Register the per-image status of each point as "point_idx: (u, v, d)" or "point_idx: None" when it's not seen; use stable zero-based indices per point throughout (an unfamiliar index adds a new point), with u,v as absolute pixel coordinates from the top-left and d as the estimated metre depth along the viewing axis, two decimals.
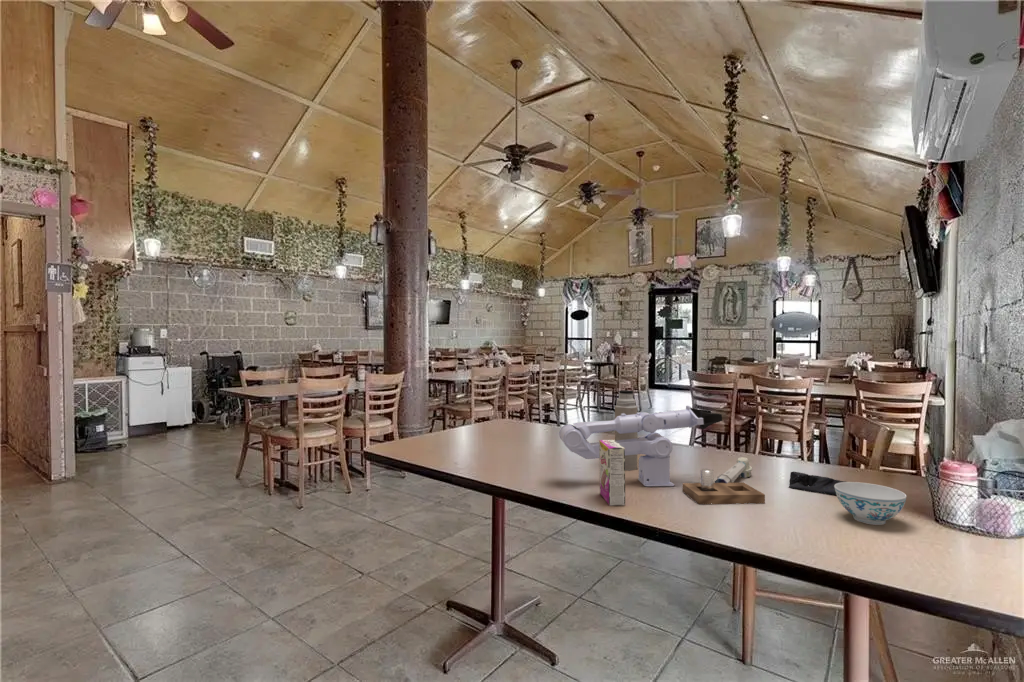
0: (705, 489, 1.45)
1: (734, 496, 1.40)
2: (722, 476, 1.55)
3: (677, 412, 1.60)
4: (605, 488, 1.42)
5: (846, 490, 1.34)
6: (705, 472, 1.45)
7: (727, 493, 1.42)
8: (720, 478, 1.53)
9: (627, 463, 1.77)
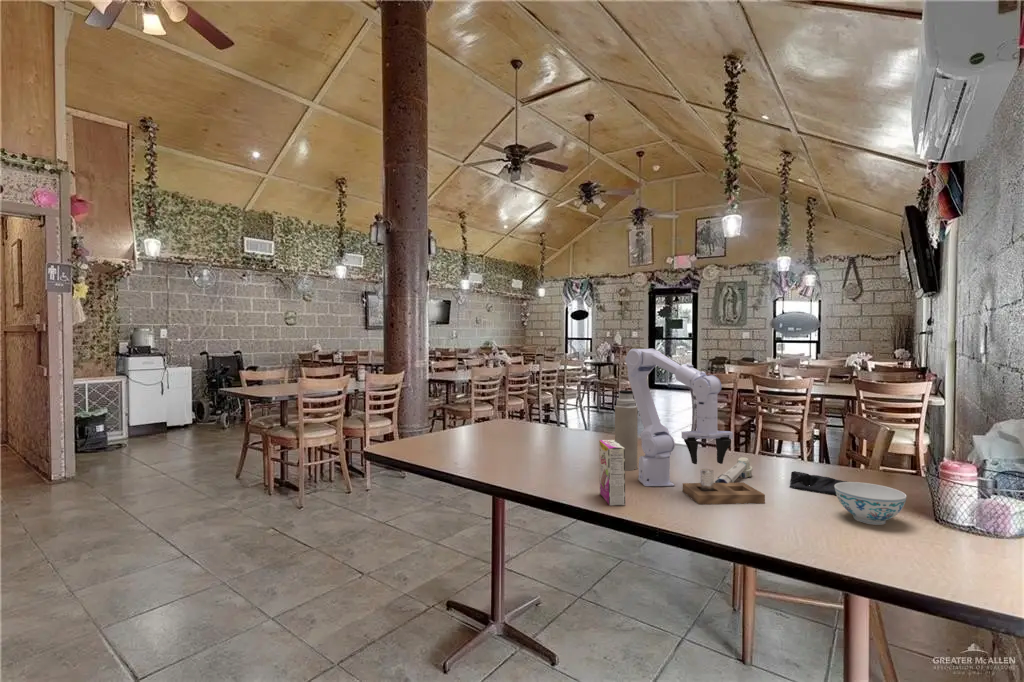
0: (705, 489, 1.45)
1: (734, 496, 1.40)
2: (722, 476, 1.55)
3: (705, 420, 1.44)
4: (605, 488, 1.42)
5: (846, 490, 1.34)
6: (705, 472, 1.45)
7: (727, 493, 1.42)
8: (720, 478, 1.53)
9: (627, 463, 1.77)
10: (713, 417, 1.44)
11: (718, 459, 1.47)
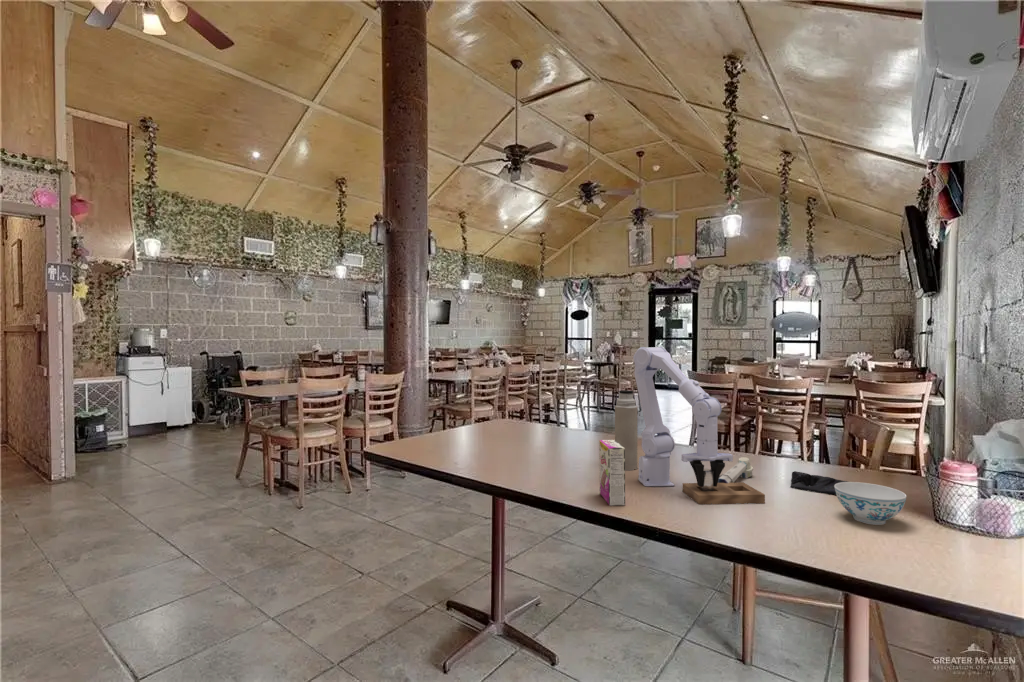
0: (705, 489, 1.45)
1: (734, 496, 1.40)
2: (723, 476, 1.55)
3: (705, 443, 1.44)
4: (605, 488, 1.42)
5: (846, 490, 1.34)
6: (705, 472, 1.45)
7: (727, 493, 1.42)
8: (721, 478, 1.53)
9: (627, 463, 1.77)
10: (713, 440, 1.44)
11: None
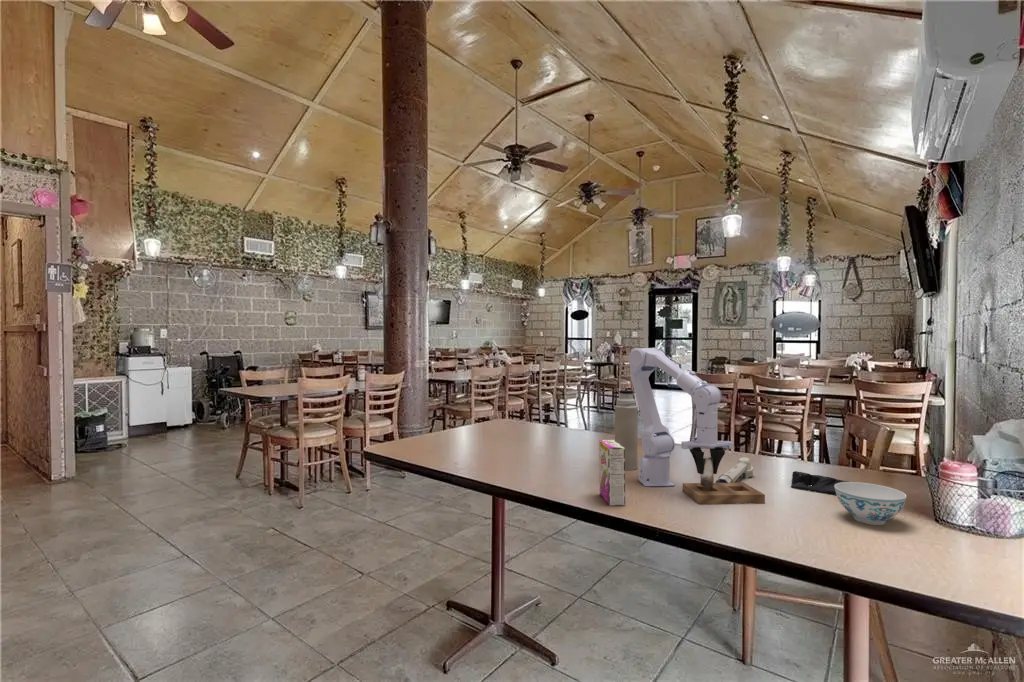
0: (705, 477, 1.45)
1: (734, 496, 1.40)
2: (723, 476, 1.55)
3: (705, 430, 1.44)
4: (605, 488, 1.42)
5: (846, 490, 1.34)
6: (705, 460, 1.45)
7: (727, 493, 1.42)
8: (721, 478, 1.53)
9: (627, 463, 1.77)
10: (713, 427, 1.44)
11: None
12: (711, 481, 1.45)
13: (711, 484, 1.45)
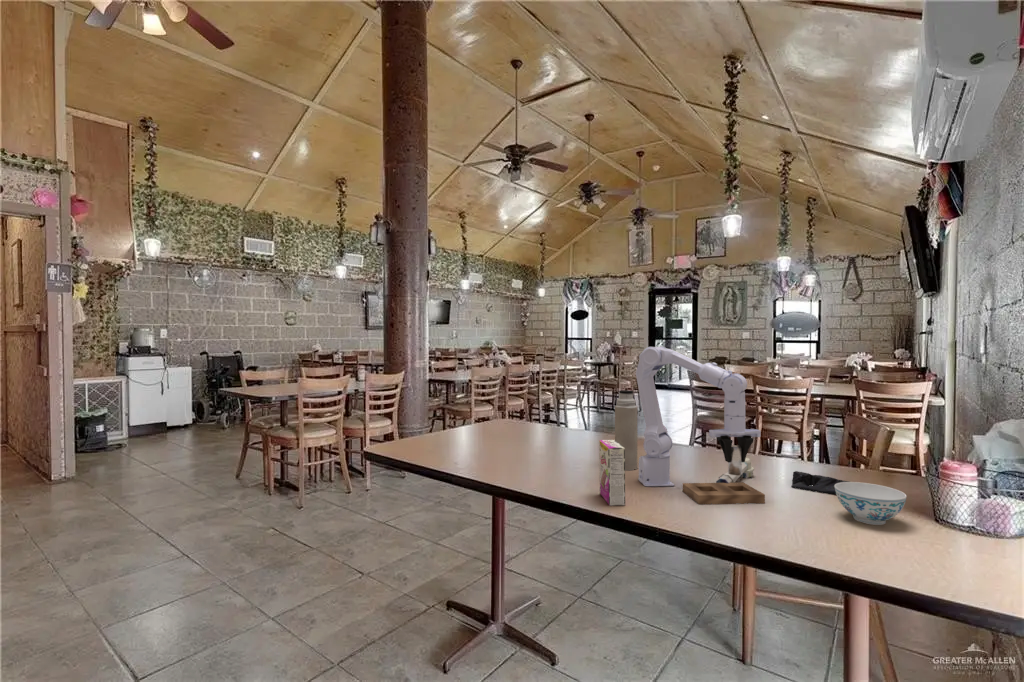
0: (733, 465, 1.45)
1: (734, 496, 1.40)
2: (724, 476, 1.55)
3: (734, 418, 1.44)
4: (605, 488, 1.42)
5: (846, 490, 1.34)
6: (733, 448, 1.45)
7: (727, 493, 1.42)
8: (722, 478, 1.53)
9: (627, 463, 1.77)
10: (743, 415, 1.44)
11: None
12: (739, 469, 1.45)
13: (739, 472, 1.45)
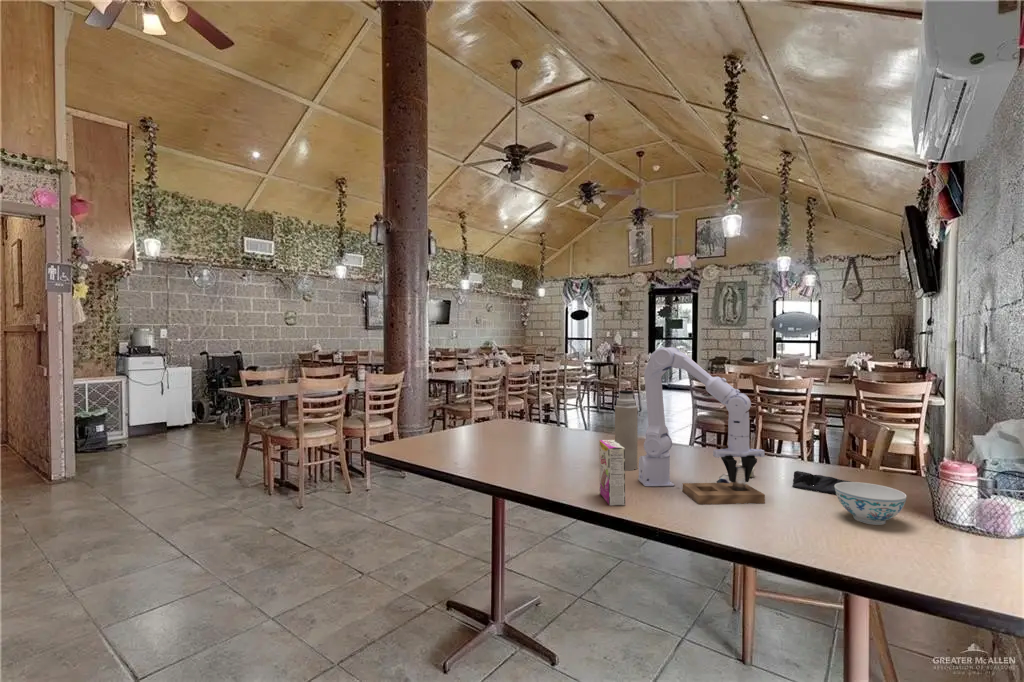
0: (737, 485, 1.45)
1: (734, 496, 1.40)
2: (724, 476, 1.55)
3: (738, 438, 1.44)
4: (605, 488, 1.42)
5: (846, 490, 1.34)
6: (737, 468, 1.45)
7: (727, 493, 1.42)
8: (722, 478, 1.53)
9: (627, 463, 1.77)
10: (748, 435, 1.44)
11: None
12: (743, 490, 1.45)
13: None
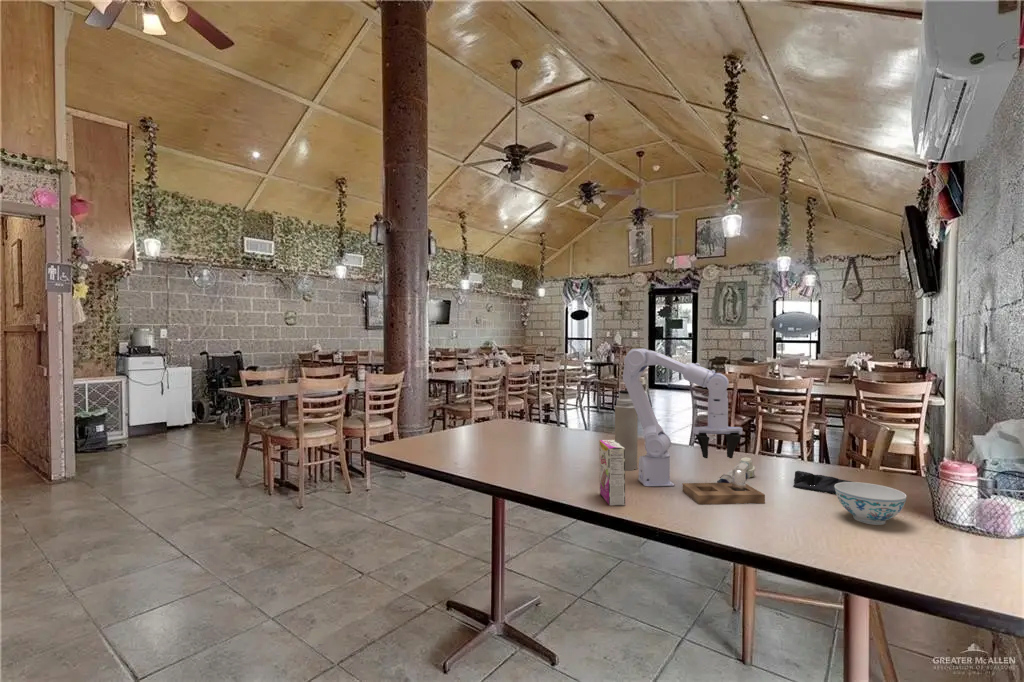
0: (737, 489, 1.45)
1: (734, 496, 1.40)
2: (725, 476, 1.55)
3: (716, 416, 1.50)
4: (605, 488, 1.42)
5: (846, 490, 1.34)
6: (737, 472, 1.45)
7: (727, 493, 1.42)
8: (723, 478, 1.53)
9: (627, 463, 1.77)
10: (727, 413, 1.50)
11: (728, 454, 1.53)
12: None
13: None
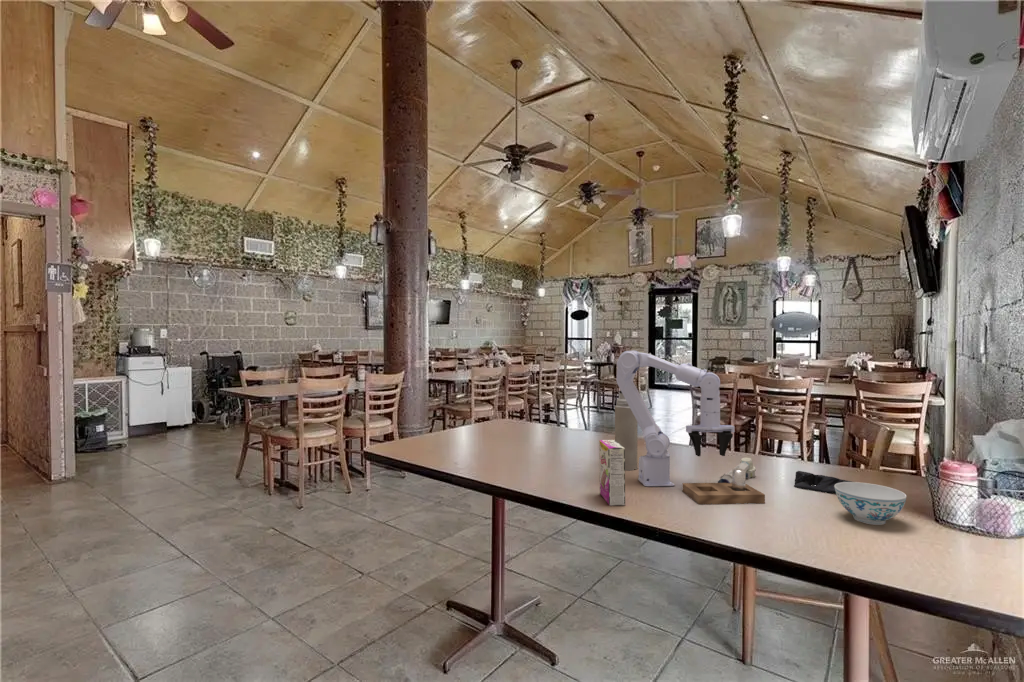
0: (737, 489, 1.45)
1: (734, 496, 1.40)
2: (725, 476, 1.55)
3: (709, 414, 1.52)
4: (605, 488, 1.42)
5: (846, 490, 1.34)
6: (737, 472, 1.45)
7: (727, 493, 1.42)
8: (723, 478, 1.53)
9: (627, 463, 1.77)
10: (719, 411, 1.52)
11: (720, 452, 1.55)
12: None
13: None
